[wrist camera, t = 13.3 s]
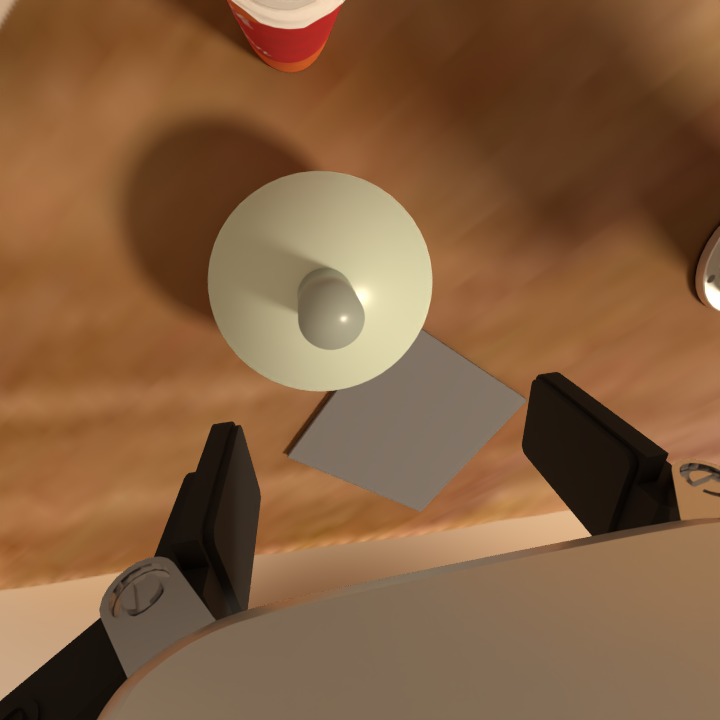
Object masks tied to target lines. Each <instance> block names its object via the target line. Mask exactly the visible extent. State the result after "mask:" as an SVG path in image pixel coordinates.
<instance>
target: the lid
mask: <svg viewBox="0 0 720 720" xmlns="http://www.w3.org/2000/svg"><path fill="white" fill-rule="evenodd" d="M208 293H209V299H210V305H211V309H212V312H213V315H214V318H215V321H216V323H217V325H218V327H219V330H220V332H221V334H222V335H223V337H224V338H225V340H226V342H227V343H228V345H229V346H230V347H231V348H232V350H233V351H234V352H235V353H236V354H237V356H238V357H239V358H241V359H242V360H243V361H244V362H245V363H246V364H247V365H248V366H249V367H251V368H252V369H254V370H255V371H256V372H258V373H259V374H261V375H263V376H265V377H266V378H268V379H270V380H272V381H274V382H277V383H279V384H282V385H285V386H288V387H292V388H295V389H301V390H307V391H333V390H339V389H345V388H349V387H352V386H356V385H359V384H361V383H364V382H366V381H368V380H371V379H372V378H374V377H376V376H378V375H380V374H381V373H383V372H384V371H386V370H387V369H388V368H390V367H391V366H392V365H393V364H395V363H396V362H397V361H398V360H399V359H400V358H401V357H402V356H403V355H404V354H405V352H406V351H407V350H408V349H409V348H410V346H411V345H412V343H413V342H414V341H415V339H416V338H417V336H418V334H419V332H420V330H421V328H422V326H423V324H424V321H425V319H426V316H427V313H428V309H429V305H430V301H431V293H432V269H431V262H430V257H429V254H428V250H427V246H426V244H425V241H424V239H423V237H422V234H421V232H420V230H419V229H418V227H417V225H416V224H415V222H414V220H413V219H412V217H411V216H410V215H409V214H408V213H407V211H406V210H405V209H404V208H403V206H402V205H400V204H399V203H398V202H397V201H396V200H395V199H394V198H393V197H392V196H391V195H389V194H388V193H386V192H385V191H383V190H382V189H381V188H379V187H378V186H376V185H374V184H372V183H370V182H368V181H366V180H364V179H361V178H358V177H355V176H352V175H349V174H343V173H338V172H332V171H309V172H301V173H296V174H292V175H288V176H285V177H281V178H279V179H277V180H274V181H272V182H270V183H268V184H266V185H264V186H262V187H261V188H259V189H258V190H256V191H255V192H253V193H252V194H250V195H249V196H248V197H247V198H246V199H245V200H243V201H242V202H241V203H240V204H239V205H238V206H237V207H236V209H235V210H234V211H233V212H232V213H231V214H230V216H229V217H228V218H227V220H226V222H225V223H224V225H223V227H222V228H221V230H220V232H219V234H218V236H217V239H216V241H215V243H214V246H213V250H212V253H211V257H210V261H209V270H208Z"/></svg>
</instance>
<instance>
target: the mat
mask: <svg viewBox="0 0 720 720" xmlns="http://www.w3.org/2000/svg"><path fill="white" fill-rule="evenodd" d="M526 401H527V399H526V398H524V397H523V396H521V395H520V394H518V393H517V392H515V391H514V390H512V389H511V388H509V387H508V386H506V385H505V384H503V383H502V382H500V381H499V380H497V379H496V378H494V377H493V376H491V375H490V374H488V373H487V372H486V371H484V370H483V369H481V368H480V367H478V366H477V365H475V364H474V363H472V362H471V361H469V360H468V359H466V358H465V357H463V356H462V355H460V354H459V353H457V352H456V351H454V350H453V349H451V348H450V347H448V346H447V345H445V344H444V343H442V342H441V341H439V340H438V339H436V338H435V337H433V336H432V335H430V334H429V333H427V332H426V331H424V330H423V329H421V330H420V332H419V334H418V336H417V338H416V339H415V341H414V342H413V343H412V345H411V346H410V348H409V349H408V350H407V351H406V352H405V354H404V355H403V356H402V357H401V358H400V359H399V360H398V361H397V362H396V363H395V364H393V365H392V366H391V367H390V368H388V369H387V370H386V371H384V372H383V373H381V374H380V375H378V376H376V377H374V378H372V379H371V380H368V381H366V382H364V383H361V384H359V385H356V386H352V387H349V388H345V389H339V390H335V391H334V393H333V394H332V395H331V397H330V398H329V399H328V401H327V402H326V403H325V405H324V406H323V407H322V409H321V410H320V411H319V413H318V414H317V415H316V417H315V418H314V419H313V421H312V422H311V423H310V425H309V426H308V428H307V429H306V430H305V432H304V433H303V434H302V436H301V437H300V438H299V440H298V441H297V442H296V444H295V445H294V446H293V448H292V449H291V450H290V452H289V453H288V458H291V459H293V460H296V461H298V462H300V463H303V464H305V465H308V466H310V467H313V468H315V469H318V470H320V471H322V472H325V473H327V474H330V475H332V476H335V477H337V478H339V479H342V480H344V481H347V482H349V483H352V484H354V485H357V486H359V487H361V488H364V489H366V490H369V491H371V492H374V493H376V494H379V495H381V496H383V497H386V498H388V499H391V500H393V501H396V502H398V503H401V504H403V505H405V506H408V507H410V508H413V509H415V510H418V511H420V512H421V511H422V510H423V509H424V508H425V507H426V506H427V505H428V503H429V502H430V501H431V500H432V499H433V498H434V497H435V496H436V495H437V494H438V493H439V492H440V491H441V490H442V489H443V488H444V487H445V486H446V485H447V484H448V482H449V481H450V480H451V479H452V478H453V477H454V476H455V475H456V474H457V473H458V472H459V471H460V470H461V469H462V468H463V467H464V466H465V465H466V464H467V463H468V461H469V460H470V459H471V458H472V457H473V456H474V455H475V454H476V453H477V452H478V451H479V450H480V449H481V448H482V447H483V446H484V445H485V444H486V443H487V442H488V441H489V439H490V438H491V437H492V436H493V435H494V434H495V433H496V432H497V431H498V430H499V429H500V428H501V427H502V426H503V425H504V424H505V423H506V422H507V421H508V420H509V418H510V417H511V416H512V415H513V414H514V413H515V412H516V411H517V410H518V409H519V408H520V407H521V406H522V405H523V404H524V403H525V402H526Z"/></svg>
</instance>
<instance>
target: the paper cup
mask: <svg viewBox="0 0 720 720" xmlns="http://www.w3.org/2000/svg"><path fill="white" fill-rule="evenodd" d="M344 1H345V0H227V2H228V4H229V6H230V8H231V10H232V12H233V14H234V16H235V18H236V20H237V21H238V23H239V25H240V27H241V29H242V31H243V33H244V34H245V36H246V38H247V40H248V41H249V43H250V45H251V46H252V48H253V49H254V51H255V52H256V53H257V55H258V56H259V57H260V58H261V59H262V60H263V61H264V62H265V63H266V64H268V65H269V66H271V67H272V68H274V69H276V70H279V71H282V72H290V73H291V72H298V71H301V70H303V69H305V68H307V67H309V66H310V65H311V64H312V63H313V62H314V61H315V60H316V59H317V57H318V56H319V54H320V53H321V51H322V49H323V47H324V45H325V43H326V41H327V38H328V36H329V34H330V32H331V29H332V27H333V25H334V22H335V20H336V18H337V15H338V13H339V10H340V8H341V5H342V3H343V2H344Z"/></svg>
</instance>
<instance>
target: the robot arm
mask: <svg viewBox="0 0 720 720" xmlns="http://www.w3.org/2000/svg"><path fill="white" fill-rule="evenodd" d="M695 281H696V291H697V294H698V297H699V298H700V300H701V302H702V303H703V304H705V305H706V306H707V307H709V308H712V309H714V310H717V311H720V226H719V227H718V228H717V229H716V230H715V232H714V233H713V235H712V236H711V238H710V239H709V241H708V242H707V244H706V246H705V248H704V250H703V252H702V254H701V257H700V260H699V263H698V266H697V271H696V277H695ZM522 448H523V452H524V454H525V455H526V456H527V458H528V459H529V460H530V461H531V463H532V464H533V465H534V466H535V467H536V469H537V470H538V471H539V472H540V473H541V475H542V476H543V477H544V478H545V480H546V481H547V482H548V483H549V484H550V486H551V487H552V488H553V489H554V490H555V492H556V493H557V494H558V495H559V496H560V498H561V499H562V500H563V501H564V503H565V504H566V505H567V506H568V507H569V509H570V510H571V511H572V512H573V513H574V515H575V516H576V517H577V518H578V520H579V521H580V522H581V523H582V524H583V525H584V527H585V528H586V529H587V530H588V531H589V533H590V534H591V535H592V536H591V537H586V538H581V539H576V540H571V541H566V542H560V543H556V544H550V545H545V546H540V547H535V548H530V549H525V550H520V551H515V552H510V553H505V554H500V555H495V556H490V557H485V558H481V559H476V560H471V561H466V562H461V563H456V564H451V565H446V566H441V567H437V568H431V569H427V570H422V571H417V572H412V573H407V574H402V575H398V576H393V577H388V578H383V579H378V580H374V581H369V582H364V583H359V584H355V585H350V586H345V587H340V588H336V589H332V590H327V591H322V592H318V593H313V594H309V595H305V596H300V597H296V598H291V599H287V600H282V601H278V602H274V603H270V604H267V605H263V606H260V607H256V608H252V609H249V610H247V609H248V602H249V593H250V585H251V577H252V568H253V560H254V552H255V543H256V535H257V527H258V518H259V510H260V501H261V496H260V489H259V485H258V482H257V478H256V475H255V471H254V468H253V464H252V461H251V457H250V454H249V450H248V447H247V443H246V440H245V436H244V433H243V429H242V427H241V425H237V426H235V424H234V422H225V423H219V424H214V425H212V427H211V430H210V433H209V436H208V439H207V442H206V444H205V447H204V450H203V453H202V456H201V458H200V461H199V464H198V467H197V470H196V472H193V473H188V474H187V475H186V476H185V478H184V480H183V483H182V486H181V488H180V491H179V493H178V496H177V499H176V501H175V504H174V506H173V509H172V512H171V514H170V517H169V519H168V522H167V525H166V527H165V530H164V532H163V535H162V538H161V540H160V543H159V545H158V548H157V551H156V553H155V556H154V557H151V558H147V559H145V560H142V561H139V562H137V563H136V564H134V565H132V566H131V567H129V568H127V569H126V570H125V571H124V572H123V573H121V574H120V575H119V576H118V577H117V578H116V579H115V580H114V581H113V583H112V584H111V585H110V586H109V587H108V589H107V591H106V593H105V594H104V596H103V598H102V601H101V606H100V616H101V618H99V619H98V620H97V621H96V622H95V623H93V624H92V625H91V626H90V627H89V628H87V629H86V630H85V631H84V632H83V633H81V634H80V635H79V636H78V637H77V638H75V639H74V640H73V641H72V642H71V643H69V644H68V645H67V646H66V647H65V648H63V649H62V650H61V651H60V652H59V653H57V654H56V655H55V656H54V657H53V658H51V659H50V660H49V661H48V662H47V663H45V664H44V665H43V666H42V667H41V668H39V669H38V670H37V671H36V672H34V673H33V674H32V675H31V676H30V677H28V678H27V679H26V680H25V681H24V682H23V683H21V684H20V685H19V686H18V687H16V688H15V689H14V690H13V691H12V692H10V693H9V694H8V695H7V696H6V697H4V698H3V699H2V700H1V701H0V720H720V466H718V465H716V464H713V463H709V462H706V461H702V460H696V459H682V460H678V461H676V462H675V463H674V464H672V465H671V464H670V463H668V462H667V461H666V459H667V456H668V454H669V453H667V452H666V451H665V450H663V449H662V448H660V447H659V446H658V445H656V444H655V443H654V442H652V441H651V440H650V439H648V438H647V437H646V436H644V435H643V434H642V433H640V432H639V431H637V430H636V429H635V428H633V427H632V426H631V425H629V424H628V423H627V422H625V421H624V420H623V419H621V418H620V417H619V416H617V415H616V414H614V413H613V412H612V411H610V410H609V409H608V408H606V407H605V406H604V405H602V404H601V403H600V402H598V401H597V400H595V399H594V398H593V397H591V396H590V395H589V394H587V393H586V392H585V391H583V390H582V389H581V388H579V387H578V386H577V385H575V384H574V383H572V382H571V381H570V380H568V379H567V378H566V377H564V376H563V375H562V374H560V373H558V372H553V373H546V374H540V375H538V376H537V378H536V380H533V382H532V385H531V391H530V397H529V404H528V410H527V416H526V422H525V428H524V435H523V441H522Z"/></svg>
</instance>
